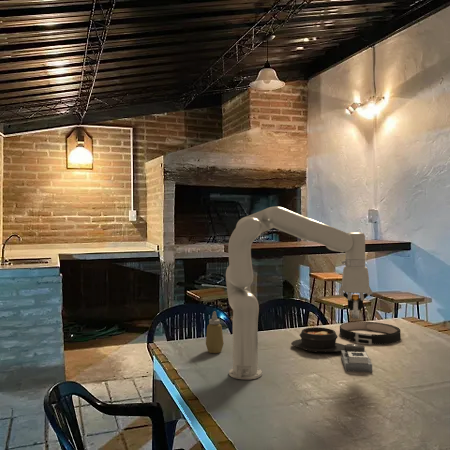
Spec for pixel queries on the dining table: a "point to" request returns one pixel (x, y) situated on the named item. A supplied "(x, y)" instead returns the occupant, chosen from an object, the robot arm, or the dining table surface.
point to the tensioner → (356, 358)
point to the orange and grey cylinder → (355, 306)
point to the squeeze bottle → (214, 335)
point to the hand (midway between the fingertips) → (355, 309)
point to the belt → (370, 338)
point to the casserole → (318, 340)
